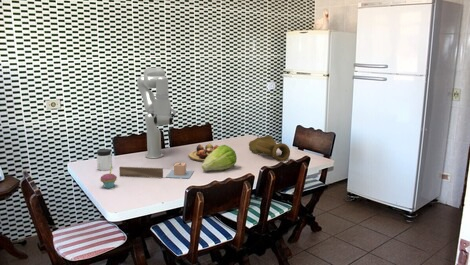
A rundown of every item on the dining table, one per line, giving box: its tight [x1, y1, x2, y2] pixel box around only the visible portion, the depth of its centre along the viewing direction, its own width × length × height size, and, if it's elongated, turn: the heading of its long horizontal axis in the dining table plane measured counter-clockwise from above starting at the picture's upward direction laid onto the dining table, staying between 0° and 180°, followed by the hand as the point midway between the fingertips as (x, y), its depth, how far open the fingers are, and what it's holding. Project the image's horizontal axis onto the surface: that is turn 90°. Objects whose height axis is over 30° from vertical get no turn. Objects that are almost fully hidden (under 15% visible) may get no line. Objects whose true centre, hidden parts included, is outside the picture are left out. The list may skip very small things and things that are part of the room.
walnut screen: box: [119, 166, 164, 179], centre depth 224 cm, size 2×26×6 cm, turn 85°
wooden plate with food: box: [188, 143, 219, 163], centre depth 270 cm, size 32×32×8 cm
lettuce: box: [201, 144, 238, 171], centre depth 241 cm, size 15×24×16 cm
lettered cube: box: [173, 162, 187, 176], centre depth 228 cm, size 6×6×6 cm
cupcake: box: [100, 165, 118, 189], centre depth 206 cm, size 9×8×12 cm
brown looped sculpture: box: [248, 134, 291, 162], centre depth 272 cm, size 23×16×28 cm
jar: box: [96, 148, 113, 171], centre depth 238 cm, size 9×8×12 cm
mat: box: [165, 169, 195, 180], centre depth 229 cm, size 14×14×1 cm
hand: (163, 123), depth 239 cm, fingers open, 9 cm apart
